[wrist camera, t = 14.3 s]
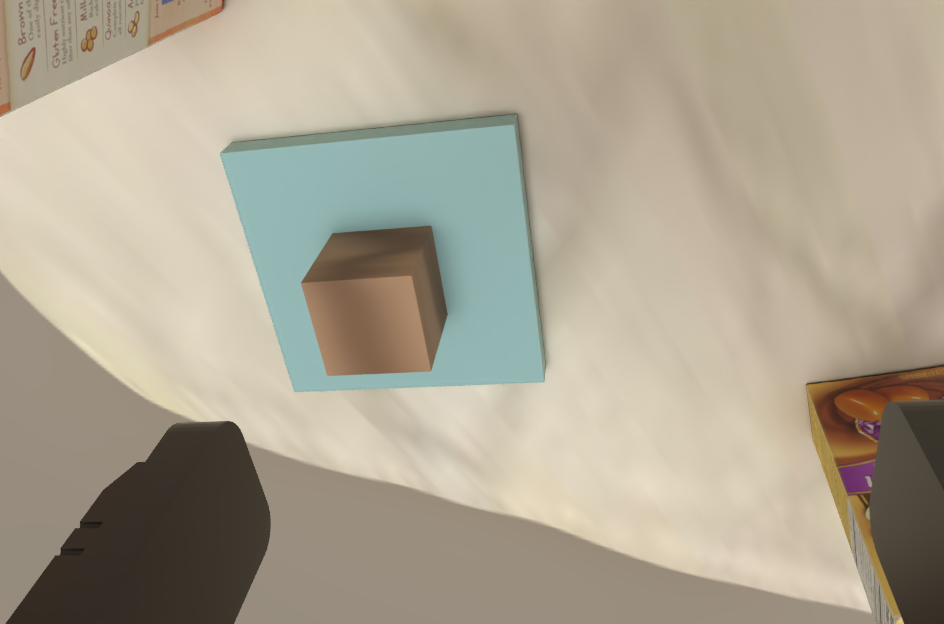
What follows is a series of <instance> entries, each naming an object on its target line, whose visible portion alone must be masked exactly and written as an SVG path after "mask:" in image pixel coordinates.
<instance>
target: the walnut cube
mask: <svg viewBox="0 0 944 624" xmlns="http://www.w3.org/2000/svg"><path fill="white" fill-rule="evenodd" d="M301 286H302V289H303V293H304V296H305V300H306V303H307V307H308V310H309V314H310V317H311V321H312V324H313V328H314V331H315V335H316V338H317V342H318V345H319V349H320V352H321V356H322V359H323V363H324V366H325V370H326V373H327V376H341V375H364V374H387V373H410V372H431V370H432V367H433V363H434V360H435V357H436V353H437V350H438V346H439V343H440V339H441V336H442V333H443V329H444V326H445V322H446V319H447V315H448V313H447V308H446V302H445V297H444V291H443V286H442V281H441V275H440V270H439V264H438V259H437V253H436V248H435V242H434V237H433V231H432V226H420V227H407V228H394V229H381V230H368V231H355V232H342V233H332V234H331V236H330V237H329V239H328V241H327V242H326V244H325V245H324V247H323V249H322V250H321V252H320V253H319V255H318V256H317V258H316V260H315V261H314V263H313V264H312V266H311V268H310V269H309V271H308V272H307V274H306V276H305V277H304V279H303V280H302V282H301Z"/></svg>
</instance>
